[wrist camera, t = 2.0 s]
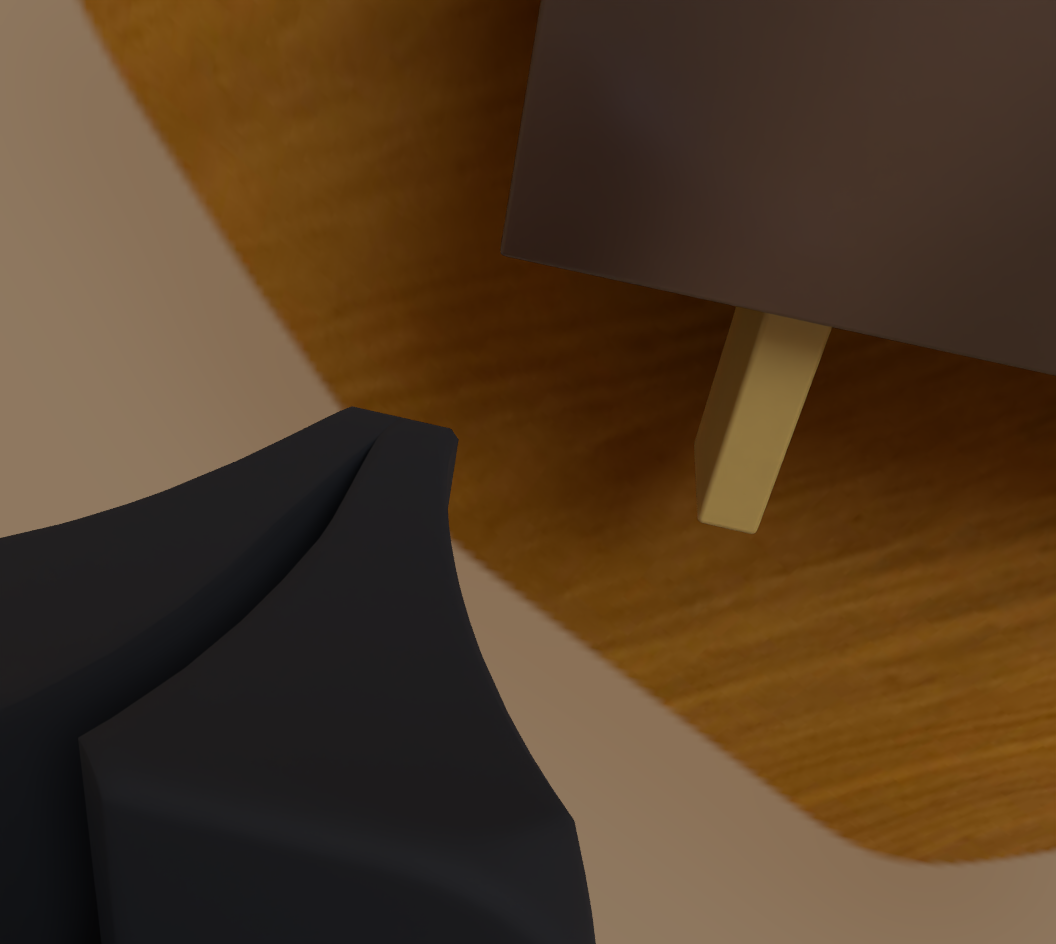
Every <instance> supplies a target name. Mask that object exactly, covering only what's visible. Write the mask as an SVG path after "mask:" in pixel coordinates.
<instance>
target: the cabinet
mask: <svg viewBox="0 0 1056 944" xmlns="http://www.w3.org/2000/svg"><path fill="white" fill-rule="evenodd" d="M500 251H501V254H502V255H504V256H507V257H511V258H516V259H520V260H525V261H530V262H534V263H539V264H544V265H548V266H553V267H557V268H562V269H567V270H571V271H576V272H580V273H585V274H590V275H594V276H599V277H603V278H608V279H613V280H617V281H622V282H626V283H631V284H636V285H640V286H645V287H649V288H654V289H659V290H663V291H668V292H672V293H677V294H682V295H686V296H691V297H695V298H700V299H705V300H709V301H714V302H718V303H723V304H728V305H732V306H737V307H741V308H746V309H751V310H755V311H760V312H764V313H769V314H774V315H778V316H783V317H787V318H792V319H797V320H801V321H806V322H810V323H815V324H820V325H824V326H829V327H833V328H838V329H843V330H847V331H852V332H856V333H861V334H866V335H870V336H875V337H879V338H884V339H889V340H893V341H898V342H903V343H907V344H912V345H916V346H921V347H926V348H930V349H935V350H939V351H944V352H949V353H953V354H958V355H962V356H967V357H972V358H976V359H981V360H985V361H990V362H995V363H999V364H1004V365H1008V366H1013V367H1018V368H1022V369H1027V370H1031V371H1036V372H1041V373H1045V374H1050V375H1054V376H1056V0H541V1H540V7H539V13H538V19H537V26H536V32H535V38H534V44H533V50H532V56H531V63H530V69H529V75H528V81H527V87H526V93H525V100H524V106H523V112H522V118H521V124H520V130H519V136H518V143H517V149H516V155H515V161H514V167H513V173H512V180H511V186H510V192H509V198H508V204H507V210H506V216H505V223H504V229H503V235H502V241H501V247H500Z"/></svg>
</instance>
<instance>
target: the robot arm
mask: <svg viewBox="0 0 1056 944" xmlns="http://www.w3.org/2000/svg"><path fill="white" fill-rule="evenodd" d="M457 446H458V438H457V437H456V435H455V434H454V432H453V431H452V430H451V429H450V428H445V427H441V426H437V425H432V424H428V423H423V422H419V421H414V420H410V419H406V418H401V417H397V416H392V415H388V414H383V413H379V412H374V411H370V410H366V409H361V408H357V407H349V408H347V409H344V410H342V411H339V412H337V413H335V414H333V415H331V416H329V417H327V418H325V419H323V420H321V421H319V422H317V423H315V424H313V425H311V426H309V427H307V428H304V429H303V430H301V431H298V432H297V433H294V434H292V435H291V436H288V437H286V438H284V439H282V440H280V441H278V442H276V443H274V444H272V445H269V446H267V447H265V448H263V449H261V450H259V451H257V452H255V453H253V454H251V455H249V456H246V457H244V458H242V459H240V460H238V461H236V462H233V463H231V464H228V465H226V466H224V467H221V468H219V469H216V470H214V471H212V472H209V473H207V474H204V475H202V476H200V477H197V478H195V479H192V480H190V481H187V482H185V483H183V484H180V485H178V486H175V487H173V488H171V489H168V490H165V491H163V492H160V493H157V494H155V495H152V496H149V497H146V498H143V499H140V500H138V501H135V502H132V503H129V504H126V505H123V506H120V507H116V508H113V509H110V510H106V511H103V512H100V513H97V514H94V515H90V516H87V517H84V518H80V519H77V520H73V521H70V522H66V523H63V524H59V525H54V526H50V527H46V528H42V529H37V530H33V531H29V532H24V533H20V534H16V535H11V536H7V537H3V538H0V944H596V943H595V934H594V926H593V918H592V911H591V905H590V899H589V893H588V887H587V882H586V875H585V870H584V866H583V861H582V856H581V851H580V846H579V841H578V836H577V832H576V827H575V822H574V820H573V818H572V817H571V815H570V814H569V813H568V811H567V809H566V808H565V806H564V805H563V803H562V802H561V801H560V799H559V798H558V796H557V795H556V793H555V792H554V790H553V789H552V787H551V786H550V784H549V783H548V781H547V779H546V778H545V776H544V775H543V773H542V771H541V770H540V768H539V767H538V765H537V763H536V762H535V760H534V759H533V757H532V755H531V754H530V752H529V750H528V748H527V747H526V745H525V743H524V741H523V739H522V738H521V736H520V734H519V732H518V731H517V729H516V727H515V725H514V723H513V721H512V719H511V718H510V716H509V714H508V712H507V710H506V708H505V706H504V703H503V701H502V699H501V697H500V694H499V692H498V690H497V688H496V686H495V683H494V681H493V679H492V677H491V675H490V673H489V670H488V668H487V666H486V664H485V662H484V659H483V657H482V654H481V652H480V649H479V646H478V644H477V641H476V638H475V635H474V632H473V629H472V626H471V624H470V621H469V617H468V614H467V611H466V607H465V604H464V600H463V597H462V593H461V590H460V585H459V582H458V577H457V572H456V568H455V562H454V556H453V551H452V545H451V538H450V531H449V521H448V504H449V498H450V491H451V485H452V478H453V472H454V465H455V459H456V452H457Z"/></svg>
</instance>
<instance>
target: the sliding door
mask: <svg viewBox="0 0 1056 944" xmlns="http://www.w3.org/2000/svg"><path fill="white" fill-rule="evenodd" d="M831 329H832V327H829V326H824V325H820V324H815V323H810V322H806V321H801V320H797V319H792V318H787V317H783V316H778V315H774V314H769V313H764V312H760V311H755V310H751V309H746V308H741V307H737V306H736V309H735V312H734V315H733V319H732V322H731V325H730V328H729V332H728V335H727V338H726V341H725V345H724V348H723V351H722V354H721V358H720V361H719V364H718V367H717V371H716V374H715V377H714V380H713V384H712V387H711V390H710V393H709V397H708V400H707V403H706V406H705V410H704V413H703V416H702V419H701V423H700V426H699V429H698V432H697V436H696V439H695V442H694V453H695V476H696V498H697V517H698V521H700V522H701V523H705V524H709V525H714V526H718V527H723V528H727V529H731V530H736V531H740V532H745V533H749V534H754V533H755V532H756V531H757V529H758V527H759V524H760V521H761V519H762V516H763V513H764V511H765V508H766V505H767V502H768V500H769V497H770V494H771V492H772V489H773V486H774V483H775V481H776V478H777V475H778V473H779V470H780V467H781V464H782V462H783V459H784V456H785V454H786V451H787V448H788V446H789V443H790V440H791V437H792V435H793V432H794V429H795V427H796V424H797V421H798V418H799V416H800V413H801V410H802V408H803V405H804V402H805V400H806V397H807V394H808V391H809V389H810V386H811V383H812V381H813V378H814V375H815V372H816V370H817V367H818V364H819V362H820V359H821V356H822V353H823V351H824V348H825V345H826V343H827V340H828V337H829V335H830V332H831Z"/></svg>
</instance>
